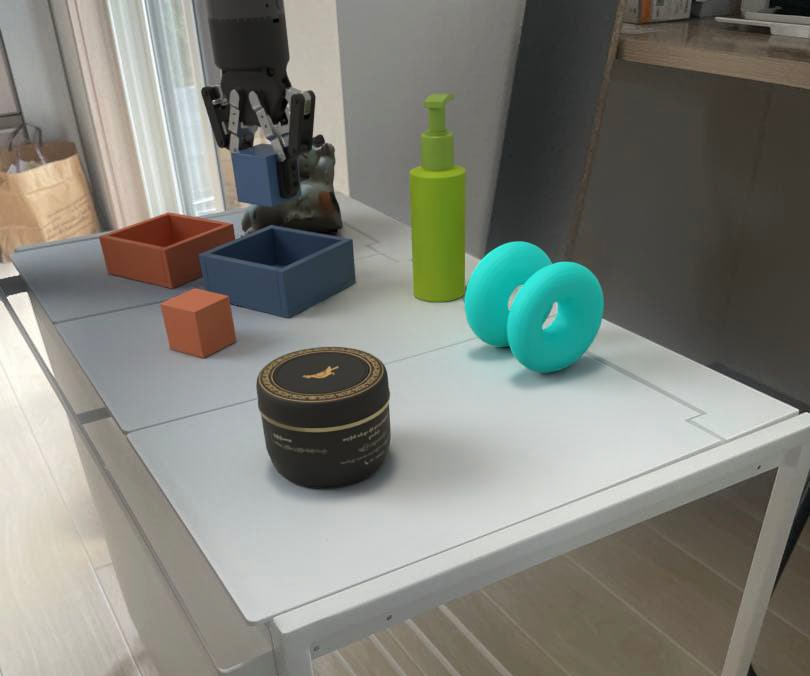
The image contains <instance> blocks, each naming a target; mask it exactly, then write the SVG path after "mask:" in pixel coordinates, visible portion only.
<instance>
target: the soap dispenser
mask: <svg viewBox="0 0 810 676" xmlns="http://www.w3.org/2000/svg"><path fill="white" fill-rule="evenodd" d="M454 100H455V94H453V93H431V94H430V95H428V96H427V97H426V99H425V100H424V102H423V107H424V109H428V110H427V111H428V129H426V130H425V131H423V132H422V133H420V164H421V165H419V166H416V167H413V168H411V169H410V170H409V196H410V199H409V201H410V226H411V259H412V260H411V261H412V289H413V291H412V292H413V296H414V297H415V298H416V299H419V300H421V301H425V302H430V303H431V302H432V303H442V302H451V301H455V300H458V299H460V298H461V297H463V296H465V294H466V193H467V192H466V184H467V182H466V181H467V180H466V177H467V176H466V175H467V172H466V171H467V170H466V168H465V167H463V166H462V165H457V164H454V162H455V160H454V159H455V157H454V154H455V151H454V148H455V147H454V141H455V140H454V139H455V138H454V133H453V132H452V131H450V130H449V129H447V128H446V105H447V104H448V103H449V102H450V101H454Z"/></svg>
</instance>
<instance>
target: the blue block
mask: <svg viewBox="0 0 810 676" xmlns="http://www.w3.org/2000/svg"><path fill="white" fill-rule="evenodd" d="M284 147H286V146H284ZM230 158H231V165H232V172H233V177H234V178H233V179H234V185H235V190H236V198H237V202H238V203H243V204H248V205H250V204H255V205H261V206H267V207H274V206H277V205H280V204H282V203H285V202H287V201H290V200H292V199H295V198H298V197H300V196H302V193H301V184H300V175H299V165H298V158H297V166H298V176H299V185H300V186H299V191H298V193H297V195H296V196H294V197H291V198H289V199H285V198H281V197H280V192H279V184H278V176H277V168H276V162H278V160H277V158H276V155H275V153H274V150H273V147H272V145H271V143H259V144H256V145H255V144H254V145H253V146H252V147H248V148H245V149H242V150H239V151H235V152H232V153H230Z"/></svg>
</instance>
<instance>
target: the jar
mask: <svg viewBox="0 0 810 676" xmlns="http://www.w3.org/2000/svg"><path fill="white" fill-rule="evenodd" d="M256 396H257V408H258V411H259V413H260V417H261V423H262V431H263V435H264V442H265V447H266V451H267V454H268V456H269V458H270V461H271V463H272V465H273V467H274V468H275V470H276V471H277V472H278V474H280V475H281V476H282V477H284V478H285V479H286V480H287V481H289V482H291V483H293V484H295V485H298V486H301V487H305V488H309V489H310V488H312V489H336V488H343V487H347V486H351V485H355V484H357V483H360V482H362V481H364V480H367V479H368V478H369V477H371V476H373V475H374V474H375V473H376V472H377V471H378V470H379V469H380V468H381V467H382V466H383V464H384V463H385V461H386V459H387V456H388V453H389V450H390V444H391V436H392V433H391V415H390V414H391V413H390V412H391V411H390V401H391V390H390V384H389V375H388V370H387V368H386V365H385V364H384V363H383V361H382V360H381V359H379V358H378V356H375V355H374V354H372V353H369V352H367V351H365V350H361V349H357V348H352V347H346V346H345V347H344V346H319V347H317V346H316V347H309V348H304V349H299V350H295V351H292V352H288V353H286V354H283V355H281V356H278V357H276V358H274V359H273V360H271V361H270V362H268V363H267V364H266V365H265V366H263V367H262V369H261V370H260V371H259V373H258V375H257V378H256Z"/></svg>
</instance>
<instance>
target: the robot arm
mask: <svg viewBox="0 0 810 676" xmlns="http://www.w3.org/2000/svg"><path fill="white" fill-rule="evenodd" d="M204 2H205V9H206V16H207V24H208V30H209V34H210V35H209V36H210V42H211V43H210V44H211V48H212V56H213V61H214V62H213V63H214V65H215V67H216V68H217V69H218V70H221V77H220V83H216V84H211V85H207V86H202V87H201V90H200V93H201V97H202V101H203V104H204V107H205V110H206V113H207V117H208V120H209V123H210V126H211V129H212V132H213V135H214V139H215V142H216V145H217V147H218V148H220V149H226V150H228V151H229V153H230V154H231V153H232V152H235V151H239V150H242V149H245V148H248V147H252V146H254V144H255V143H254V142H255V136H256V132H257V131H258V130H259V128H261V130H262V133H263V135H264V138H265V139H266V140H268V141H269V142H270V144H271V145H272V147H273V150H274V153H275V155H276V158H277V160H278V162H276V168H277V176H278V184H279V192H280V197H281V198H285V199H289V198H291V197H294V196H296V195H297V193H298V191H299V186H300V185H299V176H298V166H297V158H298V157H299V156H300V155H302V154H305V153H308V152H310V151H311V150H312V141H313V137H314V127H315V113H316V97H317V96H316V94H315V92H314V91H313V90H311V89H308V90H304V91H302V90H300V89H297V88H295V87H293V85H292V82H291V80H290V78H289V75H288V72H287V69H288V64H289V62H290V59H291V57H290V47H289V39H288V38H289V37H288V28H287V20H286V19H287V18H286V9H285V1H284V0H204ZM223 123H224V124H223ZM279 123H280V124H279ZM223 125H224V126H225V128H224V126H223ZM276 125H280V126H276ZM225 131H226V132H225ZM283 143H285V146H286V147H284V144H283Z"/></svg>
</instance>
